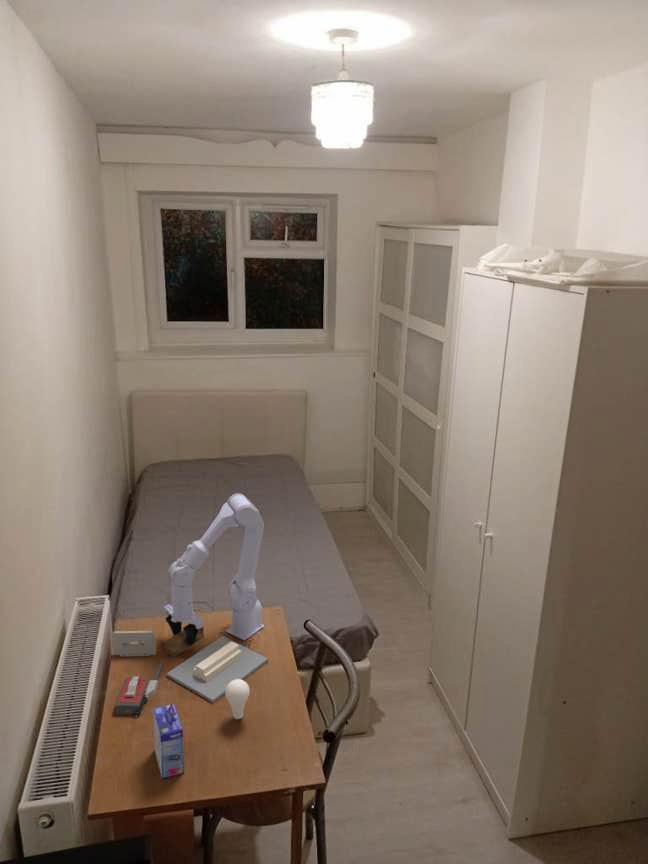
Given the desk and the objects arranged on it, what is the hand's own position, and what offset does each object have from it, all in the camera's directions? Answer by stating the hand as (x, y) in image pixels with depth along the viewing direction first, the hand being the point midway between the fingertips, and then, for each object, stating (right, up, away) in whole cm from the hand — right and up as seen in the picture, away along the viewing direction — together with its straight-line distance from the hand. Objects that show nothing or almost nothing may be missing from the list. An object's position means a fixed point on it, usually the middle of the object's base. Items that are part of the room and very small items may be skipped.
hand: (184, 640), depth 197 cm
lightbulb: (+20, -11, -29) cm, 36 cm away
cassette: (-14, -3, -4) cm, 15 cm away
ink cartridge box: (+6, -15, -42) cm, 45 cm away
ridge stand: (+12, -5, -10) cm, 16 cm away
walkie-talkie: (-8, -8, -19) cm, 22 cm away
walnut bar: (0, -2, +1) cm, 2 cm away
